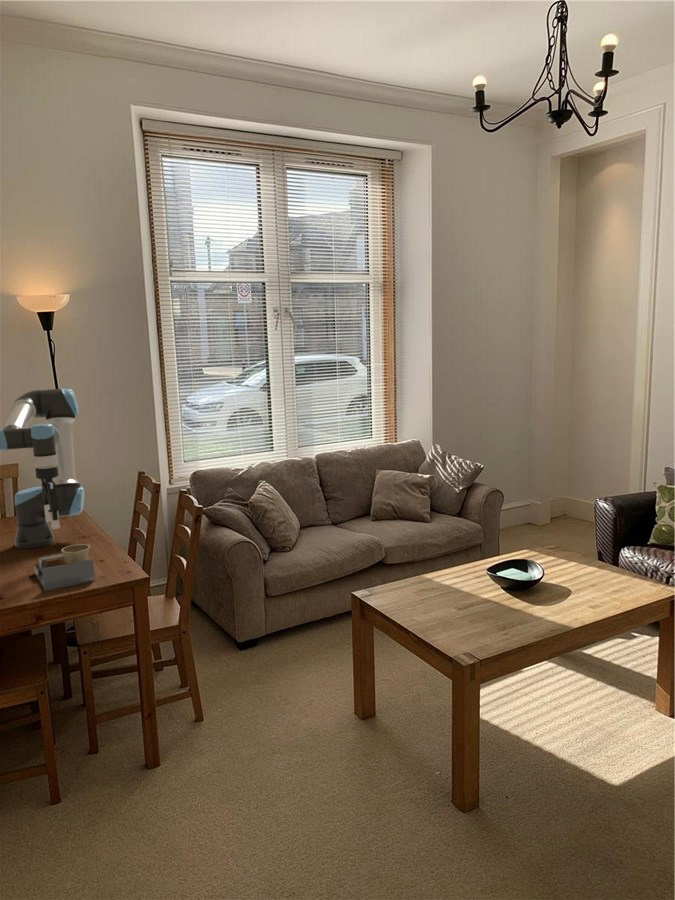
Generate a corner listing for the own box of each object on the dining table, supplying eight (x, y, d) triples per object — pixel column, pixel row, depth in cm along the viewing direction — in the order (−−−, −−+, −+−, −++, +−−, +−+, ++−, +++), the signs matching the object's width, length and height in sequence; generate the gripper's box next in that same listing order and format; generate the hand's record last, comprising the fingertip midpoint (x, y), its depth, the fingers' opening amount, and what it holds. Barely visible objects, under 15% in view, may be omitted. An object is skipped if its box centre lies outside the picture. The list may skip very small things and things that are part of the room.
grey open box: (34, 573, 239) (32, 553, 237) (81, 564, 247) (79, 544, 246) (45, 591, 220) (42, 569, 219) (94, 580, 228) (92, 559, 227)
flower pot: (97, 567, 237) (95, 544, 235) (82, 576, 227) (80, 552, 226) (74, 566, 238) (71, 543, 237) (58, 575, 229) (55, 551, 228)
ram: (40, 568, 237) (39, 557, 237) (77, 561, 244) (76, 550, 243) (42, 571, 234) (41, 561, 233) (79, 564, 240) (78, 553, 240)
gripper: (30, 463, 247) (36, 520, 251) (40, 472, 227) (47, 534, 231) (51, 461, 251) (57, 516, 255) (63, 469, 231) (70, 530, 235)
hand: (52, 525), depth 243 cm, fingers open, 11 cm apart
